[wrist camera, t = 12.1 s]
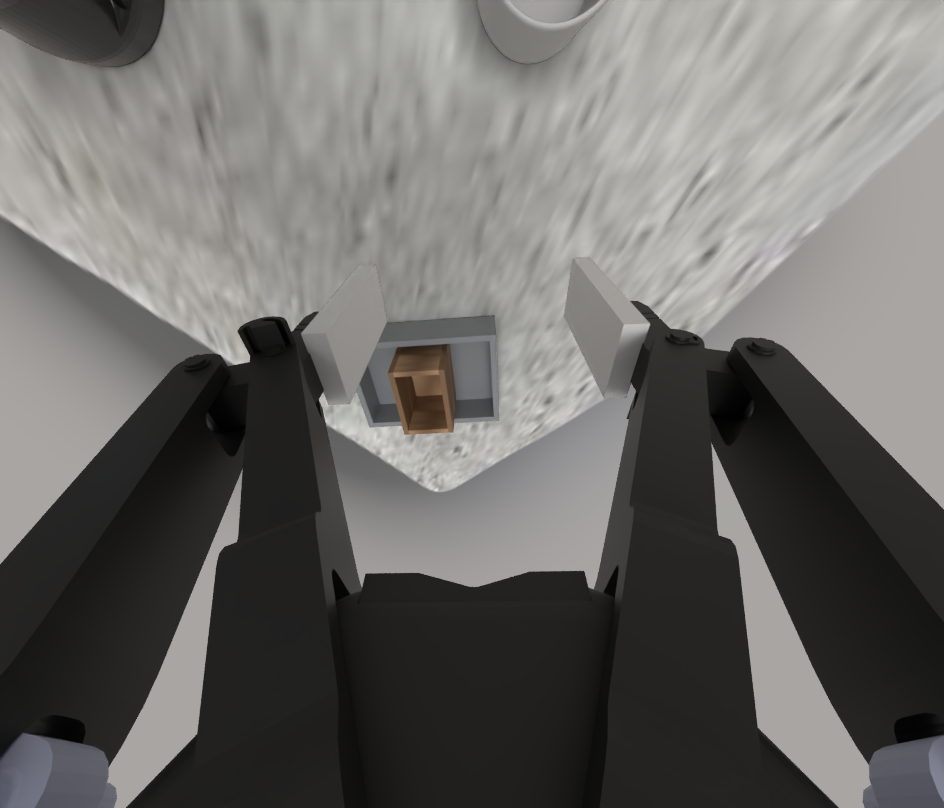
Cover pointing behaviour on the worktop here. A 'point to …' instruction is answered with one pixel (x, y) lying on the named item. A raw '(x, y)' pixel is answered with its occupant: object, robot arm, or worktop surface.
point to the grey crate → (469, 361)
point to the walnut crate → (424, 388)
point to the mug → (534, 25)
